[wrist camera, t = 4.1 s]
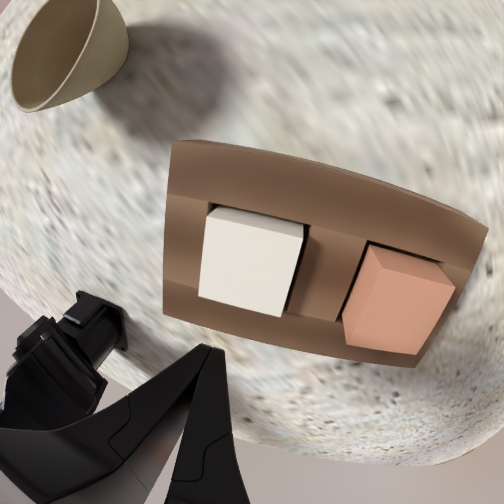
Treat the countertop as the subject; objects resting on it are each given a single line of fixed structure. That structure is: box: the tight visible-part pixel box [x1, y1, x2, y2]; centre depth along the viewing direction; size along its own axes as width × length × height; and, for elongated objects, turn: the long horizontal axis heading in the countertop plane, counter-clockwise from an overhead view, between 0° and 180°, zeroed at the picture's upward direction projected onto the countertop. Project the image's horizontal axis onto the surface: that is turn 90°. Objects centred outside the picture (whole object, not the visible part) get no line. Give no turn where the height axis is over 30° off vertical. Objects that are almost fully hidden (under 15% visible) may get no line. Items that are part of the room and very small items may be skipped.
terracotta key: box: [342, 245, 456, 355], centre depth 14 cm, size 5×5×3 cm
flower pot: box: [10, 0, 129, 113], centre depth 12 cm, size 10×10×7 cm
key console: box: [163, 140, 489, 368], centre depth 17 cm, size 12×20×4 cm, turn 80°
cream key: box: [198, 204, 303, 317], centre depth 16 cm, size 5×5×3 cm
